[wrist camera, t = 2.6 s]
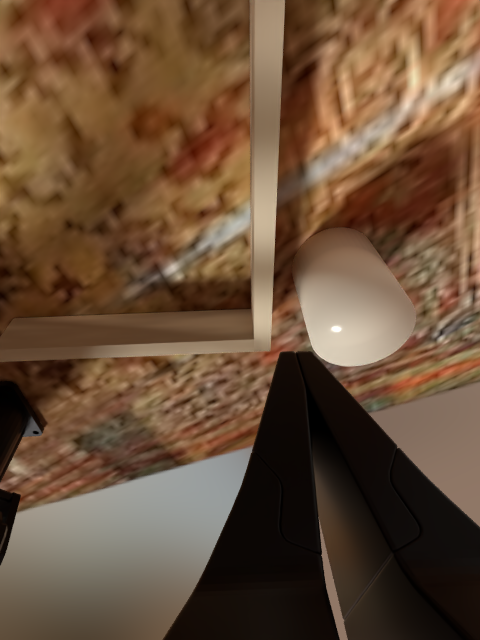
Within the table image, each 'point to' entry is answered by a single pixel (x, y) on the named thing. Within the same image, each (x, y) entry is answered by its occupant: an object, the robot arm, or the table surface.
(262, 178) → the frame
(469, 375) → the table surface
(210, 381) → the table surface
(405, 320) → the cream capsule shape
